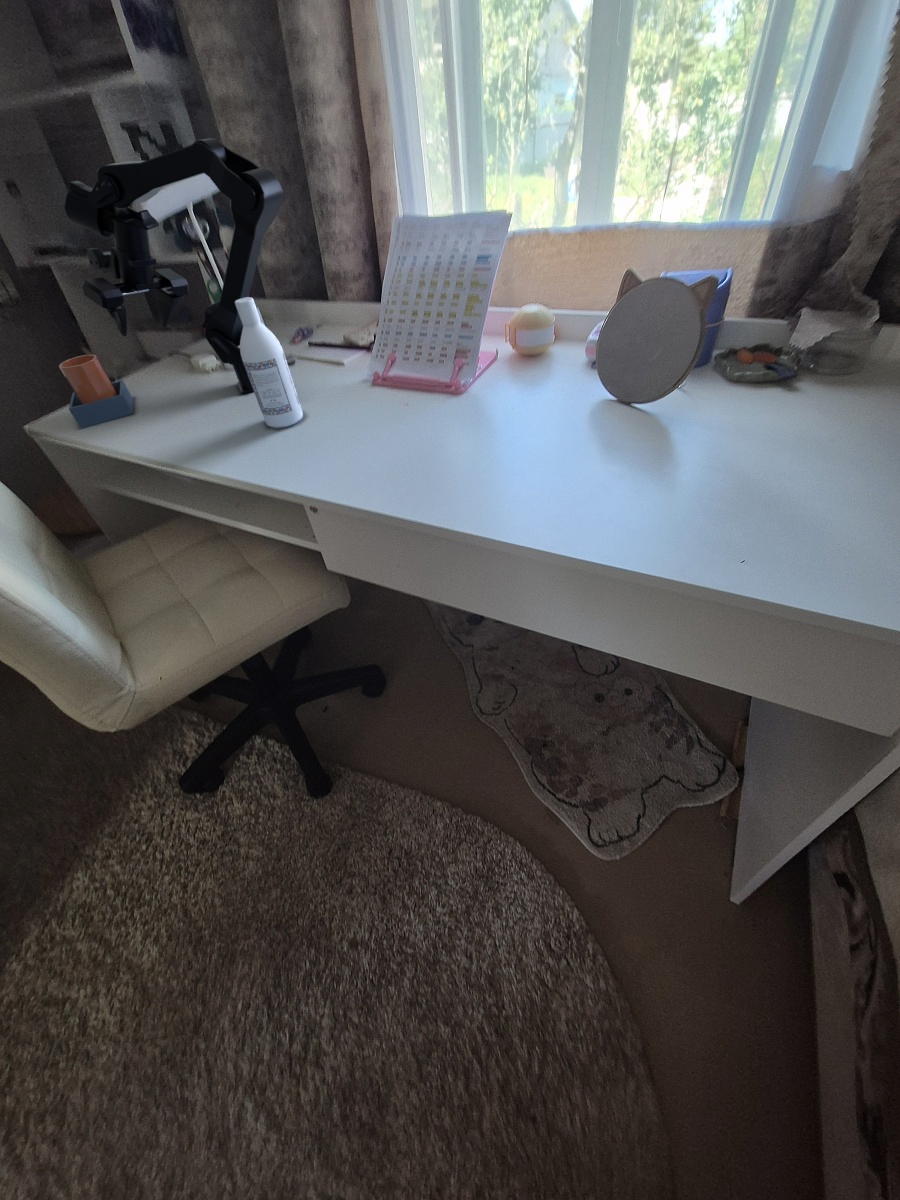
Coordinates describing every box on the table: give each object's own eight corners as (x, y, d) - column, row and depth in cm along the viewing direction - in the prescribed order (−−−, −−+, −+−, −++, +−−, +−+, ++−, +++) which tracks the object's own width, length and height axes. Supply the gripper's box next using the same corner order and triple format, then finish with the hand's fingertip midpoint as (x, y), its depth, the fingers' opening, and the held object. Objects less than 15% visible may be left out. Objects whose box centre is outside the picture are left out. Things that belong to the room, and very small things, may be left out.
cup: (128, 407, 109) (101, 357, 102) (96, 420, 106) (66, 370, 99) (115, 400, 113) (88, 352, 106) (84, 413, 110) (54, 364, 103)
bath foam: (281, 410, 100) (241, 293, 86) (311, 413, 97) (274, 293, 84) (258, 427, 96) (212, 306, 82) (288, 430, 93) (246, 306, 79)
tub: (132, 414, 107) (122, 395, 105) (80, 428, 105) (68, 409, 102) (132, 398, 114) (122, 379, 112) (83, 411, 112) (72, 392, 109)
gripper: (146, 224, 105) (156, 304, 116) (51, 231, 92) (72, 320, 104) (187, 249, 103) (192, 328, 114) (96, 260, 90) (112, 348, 102)
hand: (144, 330), depth 109 cm, fingers open, 9 cm apart
